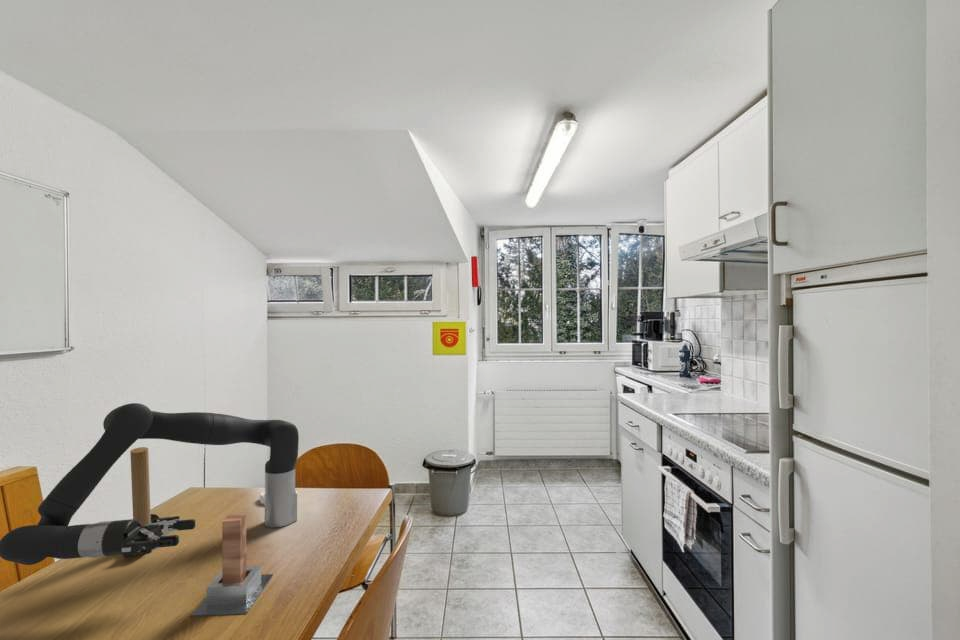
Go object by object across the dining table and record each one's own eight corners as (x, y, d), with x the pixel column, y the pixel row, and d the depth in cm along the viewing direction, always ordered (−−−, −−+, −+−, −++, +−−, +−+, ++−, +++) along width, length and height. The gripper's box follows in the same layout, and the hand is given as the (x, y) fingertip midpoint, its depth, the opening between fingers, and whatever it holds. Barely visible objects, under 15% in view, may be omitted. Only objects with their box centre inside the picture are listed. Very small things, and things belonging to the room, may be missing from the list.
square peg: (228, 589, 112) (228, 514, 112) (246, 587, 112) (246, 513, 113) (222, 598, 108) (222, 521, 108) (240, 596, 108) (240, 520, 109)
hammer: (144, 565, 128) (140, 464, 123) (121, 569, 126) (117, 467, 121) (160, 524, 146) (157, 435, 141) (141, 527, 144) (137, 437, 139)
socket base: (224, 580, 117) (224, 560, 117) (273, 578, 118) (273, 558, 118) (190, 619, 101) (190, 597, 101) (246, 616, 102) (246, 594, 102)
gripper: (89, 536, 99) (172, 529, 102) (127, 509, 113) (199, 504, 116) (89, 571, 99) (172, 563, 101) (128, 540, 113) (200, 534, 116)
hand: (186, 531), depth 109 cm, fingers open, 8 cm apart
